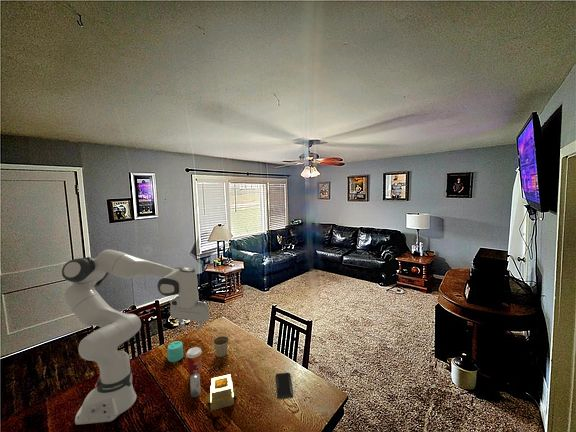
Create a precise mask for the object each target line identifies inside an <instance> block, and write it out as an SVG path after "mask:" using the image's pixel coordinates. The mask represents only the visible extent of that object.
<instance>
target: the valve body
mask: <svg viewBox="0 0 576 432" xmlns="http://www.w3.org/2000/svg"><path fill="white" fill-rule="evenodd" d="M231 376H232V375H231V374H225V375H220V376H217V377H213V378H211V381H210V382H211V385H210V393H207V394H206V398H207V399H206V400H207V401H206V402H207V403H206V404H210V411H215V410H218V409H222V408H226V407H231V406H234V405H235V403H234V401H235V400H234V399H235V398H234V397H237V387H236V386H234V387H233V381H232V377H231Z"/></svg>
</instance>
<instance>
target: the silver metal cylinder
mask: <svg viewBox="0 0 576 432" xmlns="http://www.w3.org/2000/svg"><path fill="white" fill-rule="evenodd" d="M189 382H190V383H189V385H190V397H191V398H192V399H193V398H198V397H199V396H200V395H201V393H202V392H201V391H202V389H201V375H200V374H198V373H195V374H192V375H191V376H189Z"/></svg>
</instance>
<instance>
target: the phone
mask: <svg viewBox="0 0 576 432" xmlns="http://www.w3.org/2000/svg"><path fill="white" fill-rule="evenodd" d="M291 377H292V376H291V373H290V372H281V373H279V372H278V373H276V374H275V387H276V390H275V391H276V398H277V399H283V398H284V399H285V398H292V397H294V392H293V385H292V378H291Z"/></svg>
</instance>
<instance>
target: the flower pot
mask: <svg viewBox="0 0 576 432" xmlns="http://www.w3.org/2000/svg"><path fill="white" fill-rule="evenodd" d="M229 341H230V338H229V337H228V336H226V335H221V336H220V335H219V336H217V337H216V338H214V339H213V340H212V344H213V346H214V350H215V351H214V352H215V356H216V357H218V358H224V357H225V356H226V355H227V354H228V346H229Z"/></svg>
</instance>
